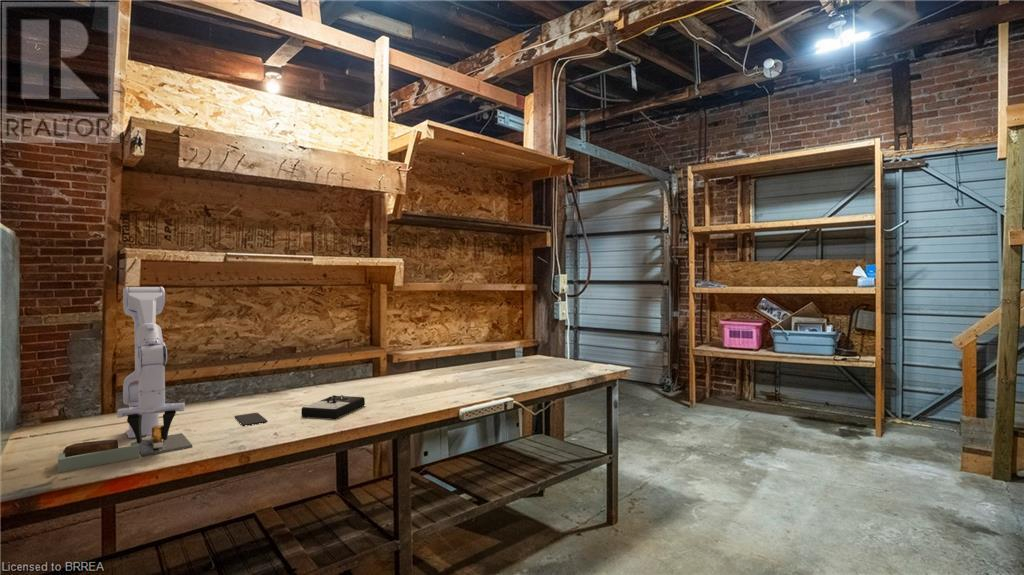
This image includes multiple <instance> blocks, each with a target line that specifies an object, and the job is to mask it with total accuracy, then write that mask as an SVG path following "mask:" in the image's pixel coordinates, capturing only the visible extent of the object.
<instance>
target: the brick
mask: <svg viewBox="0 0 1024 575" xmlns="http://www.w3.org/2000/svg"><path fill="white" fill-rule="evenodd" d="M116 448H120V447H119V440H118V439H117V438H116V439H105V440H94V441H84V442H83V441H82V442H77V443H72V444H70V445H67V446H65V448H64V449H63V451H62V453H65V457H70V456H76V455H82V454H87V453H93V452H99V451H105V450H110V449H116Z"/></svg>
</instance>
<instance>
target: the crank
mask: <svg viewBox="0 0 1024 575" xmlns="http://www.w3.org/2000/svg"><path fill="white" fill-rule="evenodd" d="M163 432H164V424H163V425H161V424H160V425H158V426H153V427H152V434H150V435H146V439H147V442H148V443H152V445H153V448H159V447H163V441H164V440H163Z"/></svg>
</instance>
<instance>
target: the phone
mask: <svg viewBox="0 0 1024 575" xmlns="http://www.w3.org/2000/svg"><path fill="white" fill-rule="evenodd" d="M234 417H235V418H236V419H237V420H238V421H239V422H238V421H237V420H236V419H235V418H234V419H235V420H236V421H237V422H238V423H239V424H240V423H241V424H242V425H243V426H242V425H241V424H240V425H241V426H242V427H246V426H245V425H250V426H253V425H252V424H256V425H260V424H259V423H263V424H267V423H268V420H267V419H266V418H265V417H264V416H262V415H261V414H260V413H259V412H251V413H244V414H237V415H234ZM266 422H267V423H266Z"/></svg>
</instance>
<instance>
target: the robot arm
mask: <svg viewBox="0 0 1024 575" xmlns="http://www.w3.org/2000/svg"><path fill="white" fill-rule="evenodd" d="M165 302H166V291H165V288H164V287H163V286H124V287H123V290H122V304H123V312H124V314H125V316H129V317H131V318H132V320H133V324H134V327H133V328H134V371H133V372H131V373H130V374H129V375H127V376H126V377H124V379H123V386H122V401H123V404H124V405H128V407H124V408H118V409H117V411H116V413H117V414H116V415H117V416H116V417H117V418H119V419H120V418H123V417H127V419H126V421H127V423H128V429H126V430H125V433H126V436H127V437H128V438H129V439H133V438H135V441H137V443H141V442H142V440H143V437H147V435H150V434H152V427H153V426H158V425H159V424H160V420H159V419H160V416H159V415H160V414H162V421H163V425H164V432H163V440H167V437H168V435H169V431H170V427H171V426H172V425H171V423H172V422H173V419H174V417H175V415H176V413H177V412H184V411H185V409H186V408H185V407H186V406H185V405H186V404H185V403H186V402H174V403H166V379H165V378H166V377H165V376H166V374H165V373H166V368H165V367H166V365H167V362H168V349H167V346H166V344H165V343H166V342H165V341H163V340H164V339H163V332H162V327H161V326H160V325H158V324H156V322H157V321H156V320H157V315H160V314H161V313H162V311H163V310H164V307H165Z"/></svg>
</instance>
